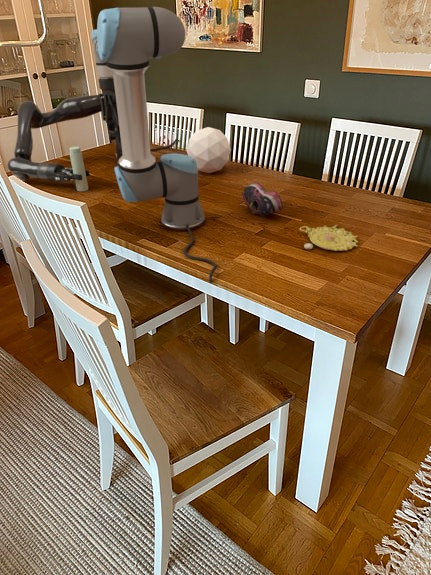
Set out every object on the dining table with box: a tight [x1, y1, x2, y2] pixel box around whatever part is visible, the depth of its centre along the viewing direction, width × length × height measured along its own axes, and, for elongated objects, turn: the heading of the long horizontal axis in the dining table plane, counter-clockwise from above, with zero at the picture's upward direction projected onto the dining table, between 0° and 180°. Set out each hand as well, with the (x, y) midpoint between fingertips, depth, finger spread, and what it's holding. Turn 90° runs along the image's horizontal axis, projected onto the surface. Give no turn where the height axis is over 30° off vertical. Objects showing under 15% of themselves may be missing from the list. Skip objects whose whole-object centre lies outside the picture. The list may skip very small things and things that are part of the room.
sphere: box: [186, 126, 232, 174], centre depth 198 cm, size 19×20×20 cm
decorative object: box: [299, 224, 359, 252], centre depth 141 cm, size 21×2×20 cm
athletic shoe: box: [238, 182, 284, 217], centre depth 160 cm, size 11×22×12 cm
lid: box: [108, 128, 118, 137], centre depth 174 cm, size 6×6×2 cm
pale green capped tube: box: [68, 146, 89, 193], centre depth 182 cm, size 5×5×17 cm
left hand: (85, 175), depth 183 cm, fingers closed on pale green capped tube, 4 cm apart
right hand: (117, 141), depth 176 cm, fingers closed on lid, 6 cm apart
